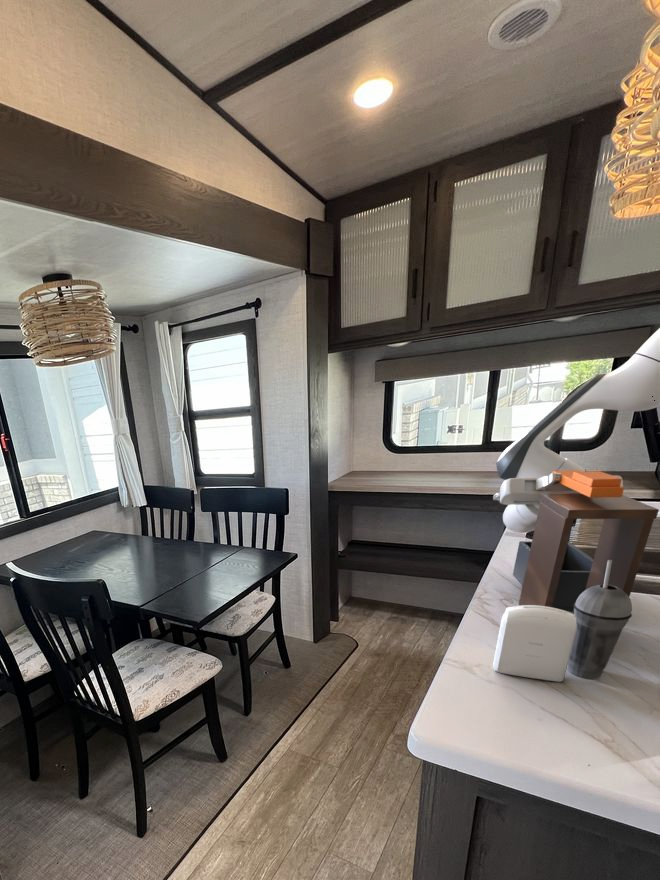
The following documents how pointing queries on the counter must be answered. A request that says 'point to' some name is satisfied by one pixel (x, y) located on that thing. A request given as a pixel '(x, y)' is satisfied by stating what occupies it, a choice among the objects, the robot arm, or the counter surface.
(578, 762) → the counter surface
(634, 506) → the shelf stand
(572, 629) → the photo printer
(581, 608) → the beverage cup
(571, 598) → the trash bin
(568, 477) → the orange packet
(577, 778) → the counter surface
